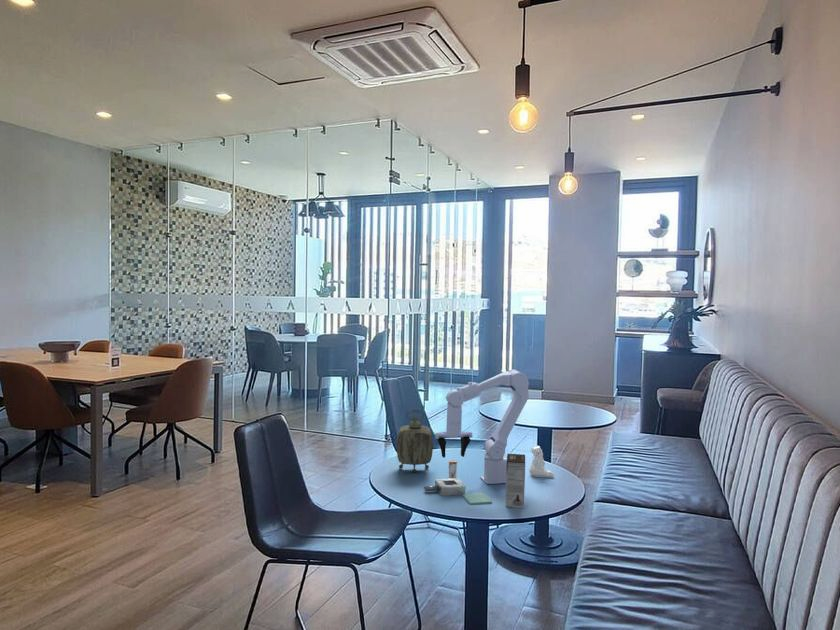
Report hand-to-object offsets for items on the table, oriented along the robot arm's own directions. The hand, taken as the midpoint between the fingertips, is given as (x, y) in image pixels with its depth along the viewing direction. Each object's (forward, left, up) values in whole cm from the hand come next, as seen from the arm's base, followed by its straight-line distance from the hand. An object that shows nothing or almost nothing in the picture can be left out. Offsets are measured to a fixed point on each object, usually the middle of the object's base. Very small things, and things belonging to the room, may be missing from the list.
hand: (453, 456), depth 210 cm
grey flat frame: (+6, +10, -10) cm, 15 cm away
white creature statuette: (-37, -1, -10) cm, 38 cm away
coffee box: (-15, +25, -10) cm, 31 cm away
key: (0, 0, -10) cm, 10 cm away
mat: (-3, +20, -10) cm, 22 cm away
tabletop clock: (+12, -14, -10) cm, 21 cm away
